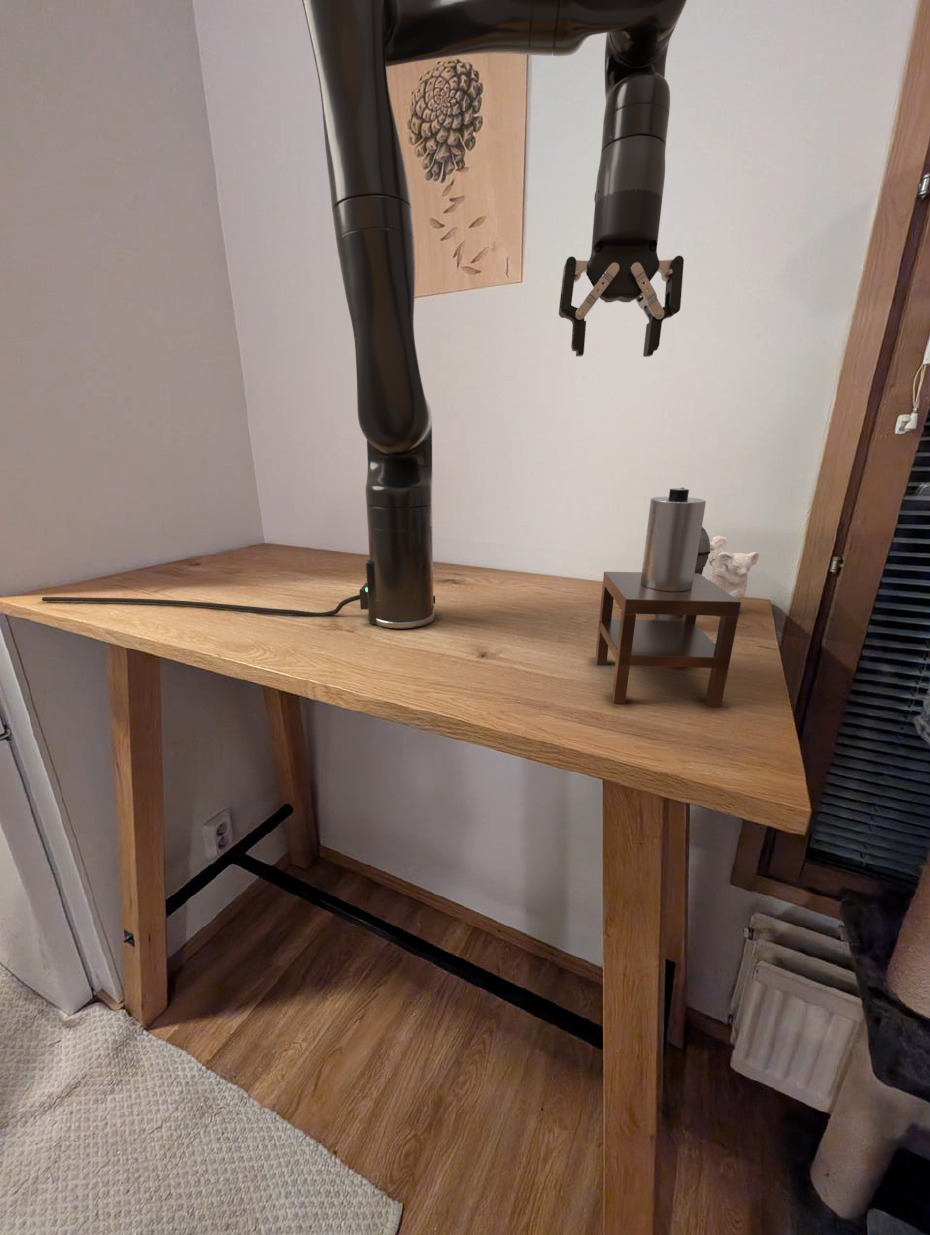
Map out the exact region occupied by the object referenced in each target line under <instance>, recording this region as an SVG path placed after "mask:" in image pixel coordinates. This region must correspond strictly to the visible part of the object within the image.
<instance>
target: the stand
mask: <svg viewBox="0 0 930 1235" xmlns="http://www.w3.org/2000/svg"><path fill="white" fill-rule="evenodd" d="M641 574H642V571H603V576H602V577H603V578H602V586H601V587H602V588H601V598H600V599H601V600H600V608H599V618H598V628H597V629H598V630H597V639H596V650H595V659H594V660H595V663H596V665H598V666H600V665H601V666H607V665H608V655H609V650H610V653H611V654H612V656H613V658H614V659H615V665H614V673H613V682H612V683H613V684H612V692H611V700H612V702H613V704H621V705H625V704H626V700H627V694H628V693H627V691H628V685H629V675H630V669H631V668H630V667H631V666H633V667H660V668H661V667H662V668H663V667H666V668H667V667H668V668H699V669H710V672H709V679H708V683H707V690H706V694H705V700H704V701H705V703H706V704H707V706H708V707H709V708H721V707H722V704H723V698H724V695H725V694H724V693H725V688H726V683H727V677H728V672H729V668H730V662H731V656H732V653H733V647H734V642H735V637H736V632H737V627H738V621H739V615H740V611H741V606H742V601H741V600H737V599H736V598H734V597H733V596H731V595H730V594H729V593H727V592H726V591H724V590H723V589H721V588H720V587H718V586H717V585H715V584H714V583H712V582H711V581H710V579H708V578H707V577H705V576H703V574H702V575H701V574H696V573H694V580H693V586H692V589H690V590H688V591H681V592H669V591H660V590H655V589H651V588H648V587H645V586H643V585H642V584H641ZM614 601H615V603H616V604H617V606H618V607H619V608H620V609H621V613H620V618H618V619H617V618H616V619H615V618H613V609H614ZM655 614H665V615H683V616H682V621H661V620H655V619H653V620H652V619H637V615H655ZM697 616H708V617H709V616H710V617H711V616H712V617H720V618H719V623H718V629H717V635H716V639H715V642H714V641H713V640H712V639H711V638H710V637H709V636H708V635H707V634H706V633H705V632H704V631H703V630H701V629H700V628H699V627H698V626H697V625H696V622H697Z"/></svg>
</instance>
